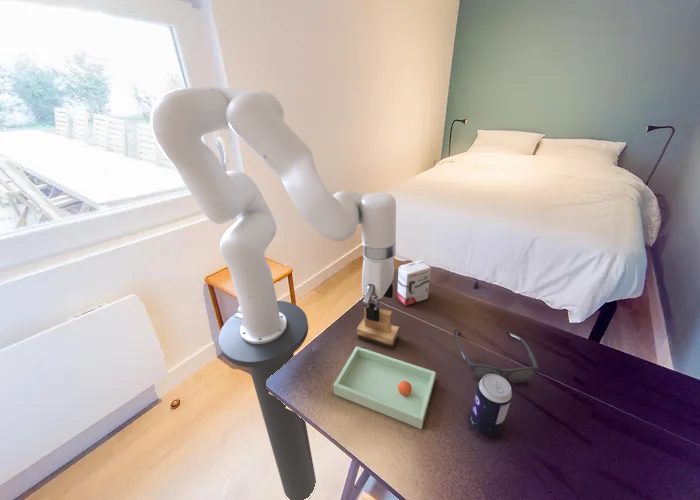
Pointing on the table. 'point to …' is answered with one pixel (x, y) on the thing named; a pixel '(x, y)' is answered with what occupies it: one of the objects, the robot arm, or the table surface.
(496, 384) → the beverage can
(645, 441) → the table surface
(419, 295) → the ink box
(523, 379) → the sunglasses
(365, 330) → the brush
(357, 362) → the tray
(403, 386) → the crumb ball
